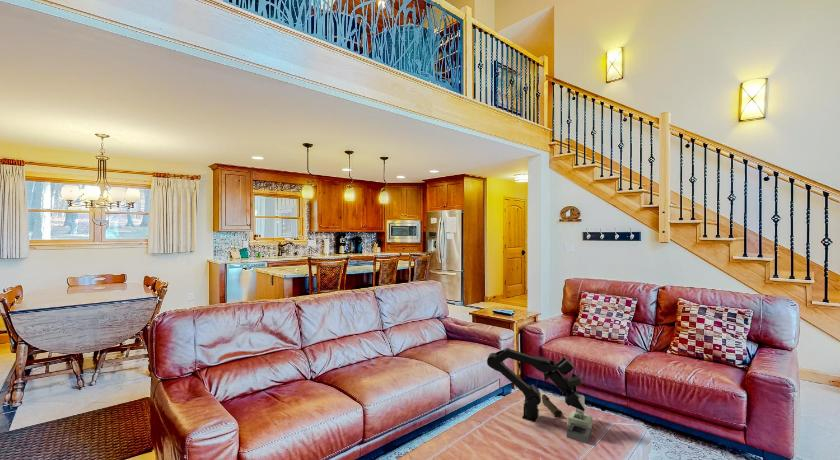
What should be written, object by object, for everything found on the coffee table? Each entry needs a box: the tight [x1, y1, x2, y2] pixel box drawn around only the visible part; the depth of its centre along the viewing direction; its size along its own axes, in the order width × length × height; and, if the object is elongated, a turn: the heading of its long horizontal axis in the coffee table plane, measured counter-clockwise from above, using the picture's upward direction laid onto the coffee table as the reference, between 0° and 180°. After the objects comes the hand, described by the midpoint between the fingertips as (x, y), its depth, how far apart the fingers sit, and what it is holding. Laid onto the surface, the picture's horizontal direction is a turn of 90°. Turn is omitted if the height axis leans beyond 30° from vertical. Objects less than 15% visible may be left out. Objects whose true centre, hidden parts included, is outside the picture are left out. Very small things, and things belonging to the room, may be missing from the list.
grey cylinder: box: [575, 393, 586, 420], centre depth 186 cm, size 4×4×13 cm
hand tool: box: [541, 394, 563, 418], centre depth 202 cm, size 19×4×5 cm, turn 3°
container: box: [566, 410, 594, 428], centre depth 186 cm, size 10×10×4 cm
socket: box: [566, 423, 593, 445], centre depth 176 cm, size 9×9×3 cm
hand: (583, 406), depth 185 cm, fingers open, 9 cm apart
